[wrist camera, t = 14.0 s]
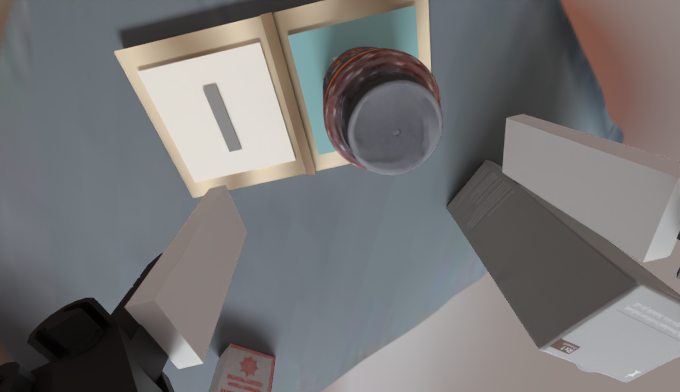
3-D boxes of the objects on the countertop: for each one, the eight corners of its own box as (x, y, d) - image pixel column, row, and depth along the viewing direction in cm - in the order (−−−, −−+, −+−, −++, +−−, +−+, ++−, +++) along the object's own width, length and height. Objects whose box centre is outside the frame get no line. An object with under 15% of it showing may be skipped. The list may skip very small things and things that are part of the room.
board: (198, 191, 26) (190, 201, 25) (124, 51, 20) (107, 51, 19) (429, 140, 25) (436, 147, 24) (421, -22, 19) (430, -27, 18)
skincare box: (542, 189, 29) (750, 324, 15) (494, 239, 32) (632, 391, 18) (482, 154, 26) (664, 277, 13) (436, 211, 29) (544, 363, 15)
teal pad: (318, 153, 24) (318, 156, 23) (287, 35, 19) (287, 35, 19) (421, 131, 24) (423, 132, 23) (413, 5, 19) (416, 4, 19)
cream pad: (196, 181, 24) (194, 183, 24) (139, 71, 20) (135, 71, 19) (296, 158, 24) (295, 161, 24) (260, 42, 20) (259, 42, 19)
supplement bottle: (381, 29, 19) (449, 14, 9) (410, 107, 22) (485, 159, 12) (306, 71, 20) (296, 98, 10) (342, 141, 23) (362, 215, 13)
